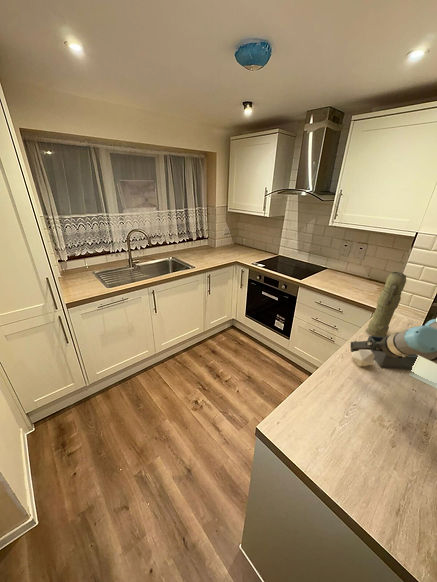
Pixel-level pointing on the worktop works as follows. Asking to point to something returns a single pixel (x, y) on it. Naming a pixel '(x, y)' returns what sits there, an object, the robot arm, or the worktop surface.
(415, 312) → the worktop surface
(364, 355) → the die
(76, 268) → the worktop surface
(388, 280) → the green lumpy column
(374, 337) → the basin
